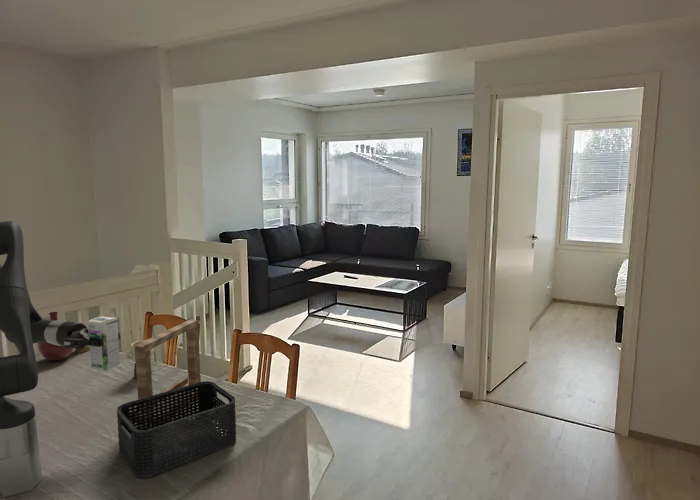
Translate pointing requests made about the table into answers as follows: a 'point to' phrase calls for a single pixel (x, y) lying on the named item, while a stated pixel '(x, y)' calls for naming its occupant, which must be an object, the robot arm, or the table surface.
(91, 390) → the table surface
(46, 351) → the round-bottom flask
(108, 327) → the syrup box
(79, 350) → the cork
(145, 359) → the wooden frame stand
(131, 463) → the storage bin
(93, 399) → the table surface
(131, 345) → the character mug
